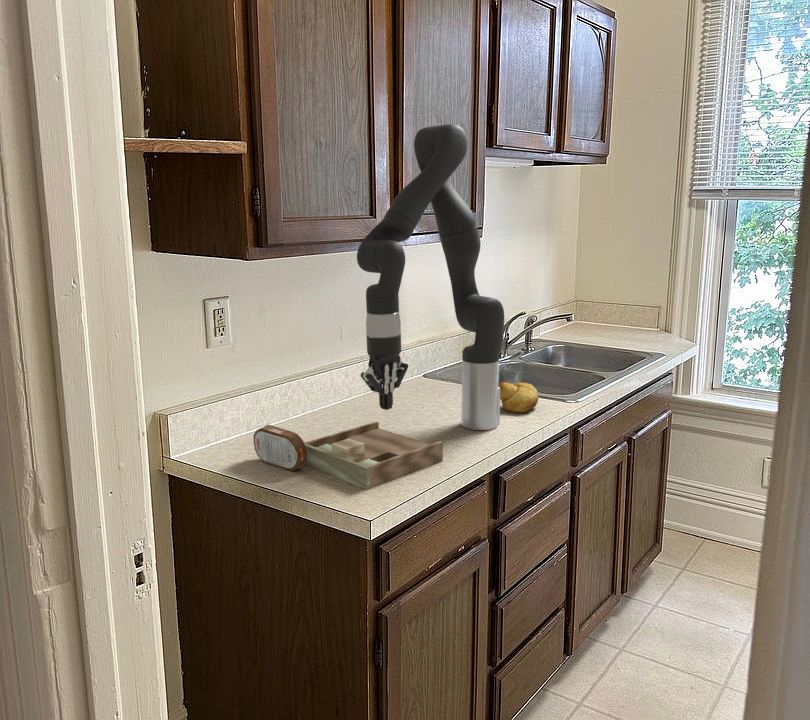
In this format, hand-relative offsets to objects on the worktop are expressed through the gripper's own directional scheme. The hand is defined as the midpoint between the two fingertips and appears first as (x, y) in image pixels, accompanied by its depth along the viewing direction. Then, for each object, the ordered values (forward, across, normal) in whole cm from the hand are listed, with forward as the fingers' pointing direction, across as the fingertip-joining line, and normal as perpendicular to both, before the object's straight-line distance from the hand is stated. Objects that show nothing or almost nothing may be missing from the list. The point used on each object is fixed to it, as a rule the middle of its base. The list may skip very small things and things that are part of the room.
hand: (386, 408), depth 169 cm
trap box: (+11, +4, 0) cm, 12 cm away
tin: (+11, +20, -14) cm, 27 cm away
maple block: (+8, +11, 0) cm, 14 cm away
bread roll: (+14, -53, -2) cm, 55 cm away
